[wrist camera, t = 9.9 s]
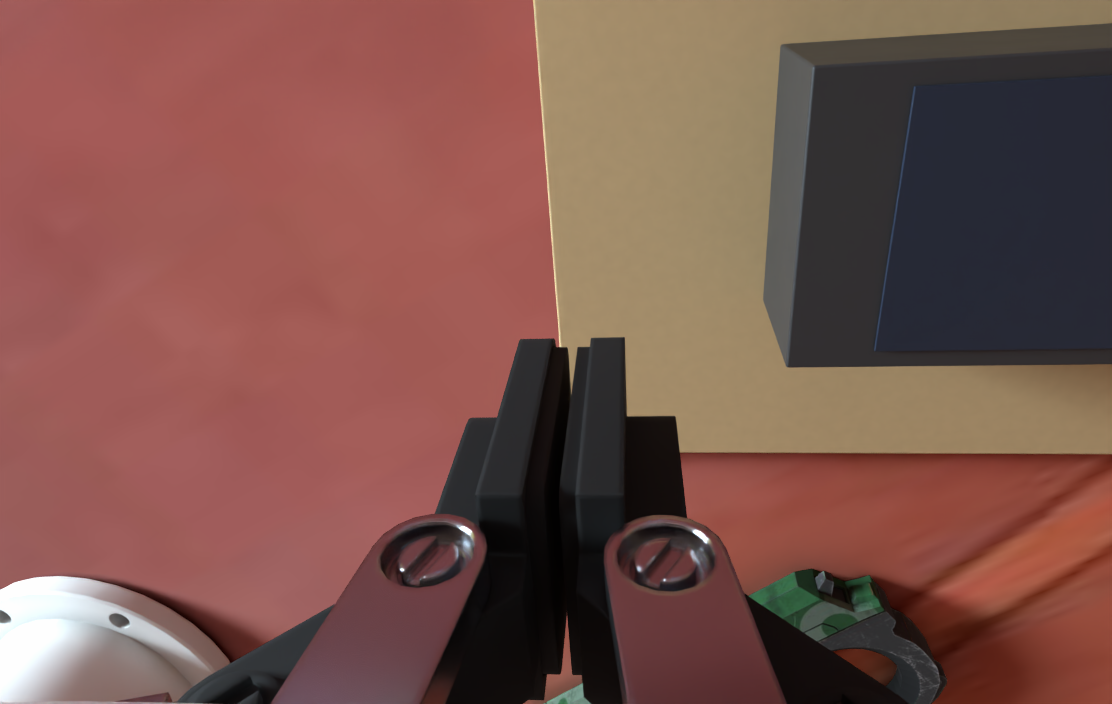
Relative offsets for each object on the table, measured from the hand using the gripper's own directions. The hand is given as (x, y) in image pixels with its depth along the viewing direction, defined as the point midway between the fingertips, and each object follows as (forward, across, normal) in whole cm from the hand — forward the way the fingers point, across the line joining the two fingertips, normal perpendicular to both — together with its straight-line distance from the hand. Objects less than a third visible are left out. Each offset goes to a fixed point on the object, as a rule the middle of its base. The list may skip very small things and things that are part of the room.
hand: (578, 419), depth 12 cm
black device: (+8, -5, -1) cm, 9 cm away
